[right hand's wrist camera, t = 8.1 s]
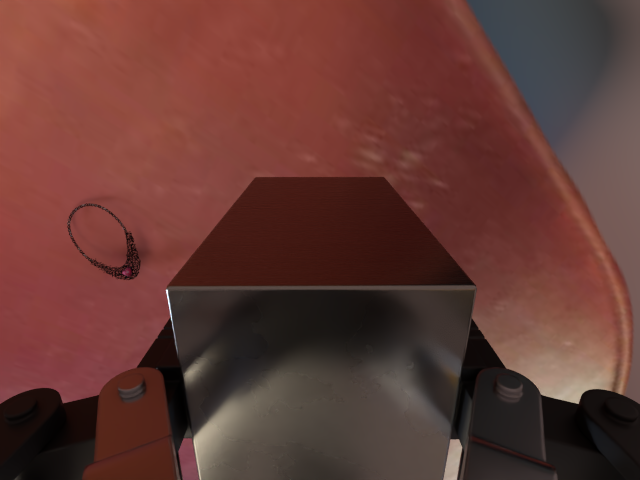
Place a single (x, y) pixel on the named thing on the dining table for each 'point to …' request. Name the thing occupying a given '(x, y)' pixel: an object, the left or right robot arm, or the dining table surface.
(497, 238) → the dining table surface
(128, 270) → the necklace
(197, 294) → the box
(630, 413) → the right robot arm
